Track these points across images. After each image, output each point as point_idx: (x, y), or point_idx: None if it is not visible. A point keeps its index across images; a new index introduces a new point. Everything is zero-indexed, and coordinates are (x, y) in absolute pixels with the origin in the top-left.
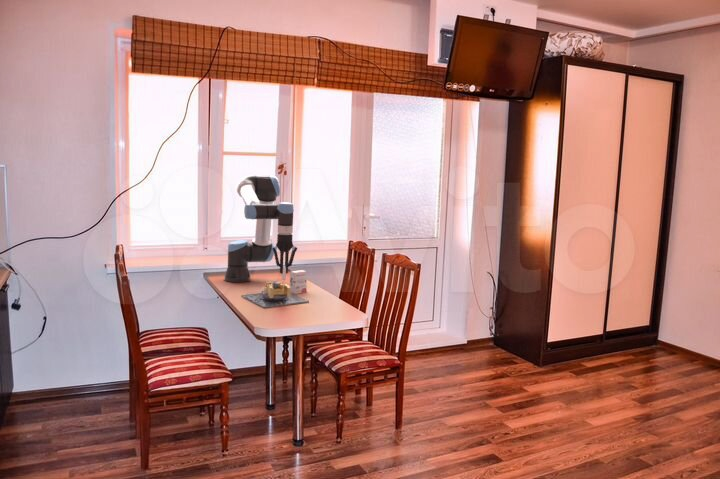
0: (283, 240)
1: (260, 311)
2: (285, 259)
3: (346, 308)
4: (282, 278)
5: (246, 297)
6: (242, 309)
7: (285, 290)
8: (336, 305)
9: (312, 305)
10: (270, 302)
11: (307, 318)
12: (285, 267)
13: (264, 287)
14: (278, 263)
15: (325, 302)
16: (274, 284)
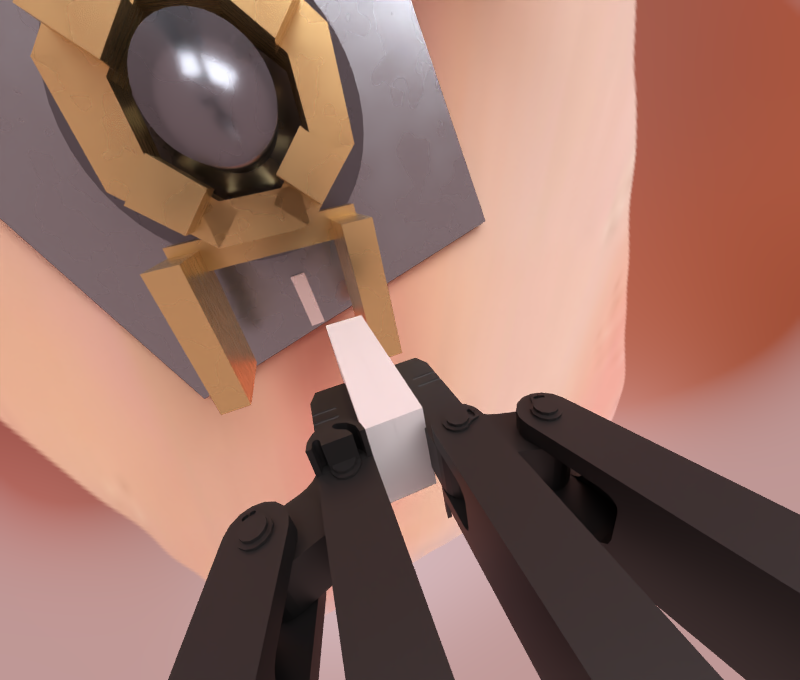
0: None
1: (203, 453)
2: (528, 613)
3: (610, 320)
4: (342, 378)
5: None
6: (54, 445)
7: (350, 281)
8: (592, 273)
9: (487, 287)
10: (226, 288)
11: (437, 485)
12: (428, 480)
13: (64, 111)
14: (299, 643)
15: (563, 213)
16: (212, 165)
